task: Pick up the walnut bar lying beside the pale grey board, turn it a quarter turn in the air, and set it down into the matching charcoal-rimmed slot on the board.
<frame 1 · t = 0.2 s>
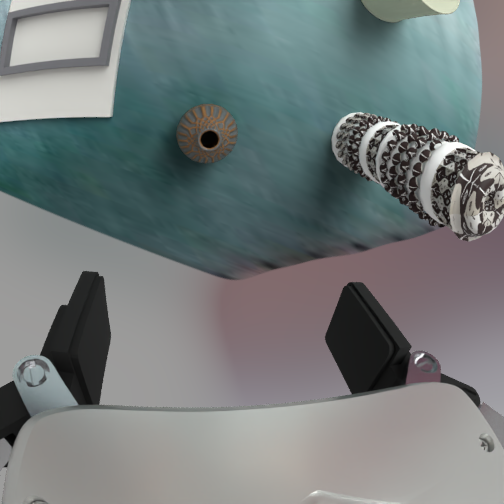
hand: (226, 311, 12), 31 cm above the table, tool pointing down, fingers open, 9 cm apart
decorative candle: (357, 140, 41), on the table
slot board: (59, 37, 27), on the table
vase: (205, 129, 37), on the table
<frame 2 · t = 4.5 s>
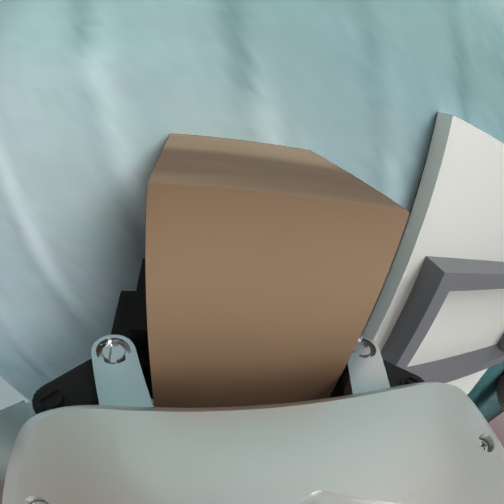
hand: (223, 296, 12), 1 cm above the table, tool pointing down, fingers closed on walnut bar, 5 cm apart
walnut bar: (221, 286, 13), on the table, touching gripper
slot board: (467, 310, 18), on the table
when the fingers open (3 cm above the table, at t = 11.1 s): walnut bar drops 2 cm, resting on slot board.
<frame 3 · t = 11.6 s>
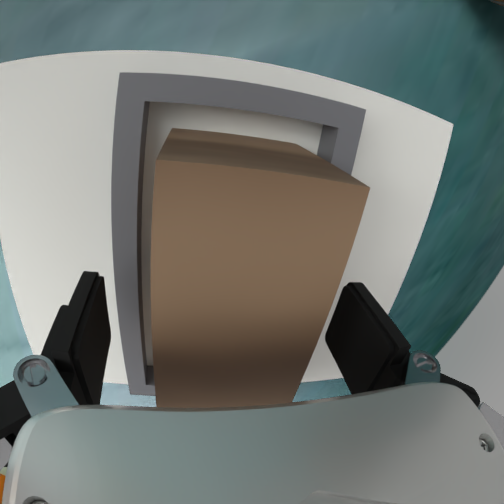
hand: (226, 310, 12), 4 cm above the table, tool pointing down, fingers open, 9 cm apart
walnut bar: (216, 266, 15), point 1 cm above the table, touching slot board
slot board: (215, 254, 15), on the table
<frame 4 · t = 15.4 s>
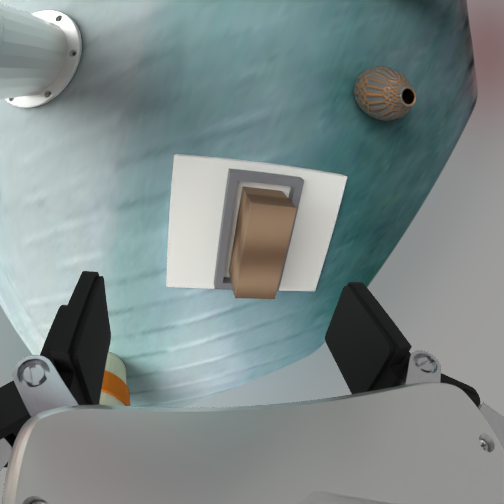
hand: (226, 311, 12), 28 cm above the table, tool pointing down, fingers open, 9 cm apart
reusable coffee cup: (102, 365, 49), on the table
walnut bar: (254, 232, 41), point 1 cm above the table, touching slot board
slot board: (253, 229, 42), on the table
vase: (368, 91, 36), on the table
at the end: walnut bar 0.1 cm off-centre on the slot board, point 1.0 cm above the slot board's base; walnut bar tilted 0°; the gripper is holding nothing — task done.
